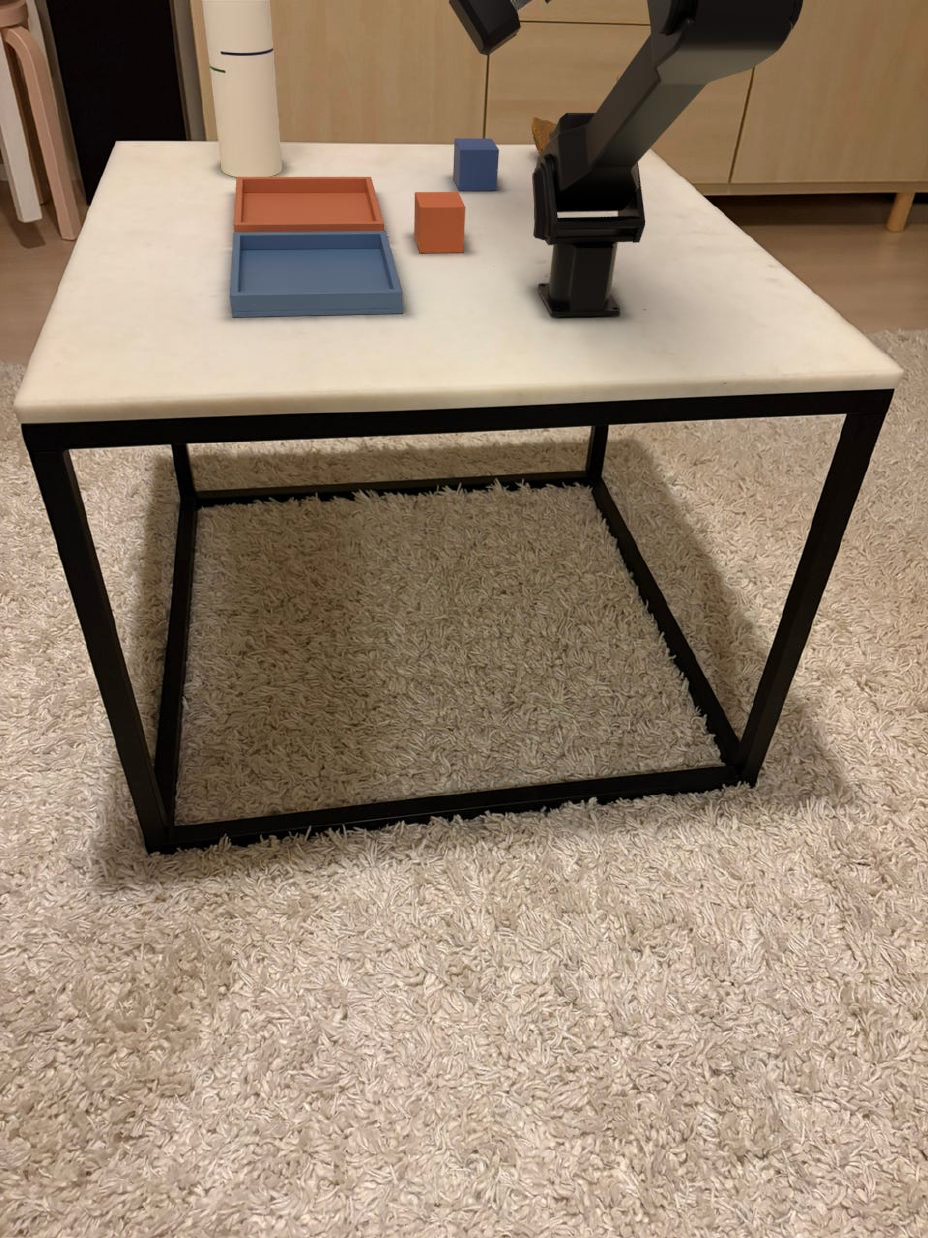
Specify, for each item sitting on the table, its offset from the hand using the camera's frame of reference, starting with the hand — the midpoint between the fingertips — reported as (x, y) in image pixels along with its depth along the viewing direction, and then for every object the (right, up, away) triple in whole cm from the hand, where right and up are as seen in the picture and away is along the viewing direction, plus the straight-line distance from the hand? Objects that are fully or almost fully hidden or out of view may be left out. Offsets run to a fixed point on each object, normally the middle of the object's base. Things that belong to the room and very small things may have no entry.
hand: (523, 6), depth 95 cm
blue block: (-5, -10, +17) cm, 20 cm away
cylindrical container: (-31, -8, +18) cm, 37 cm away
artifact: (+8, -5, +24) cm, 26 cm away
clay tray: (-23, -19, +6) cm, 30 cm away
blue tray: (-20, -30, -6) cm, 37 cm away
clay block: (-9, -23, +2) cm, 25 cm away
